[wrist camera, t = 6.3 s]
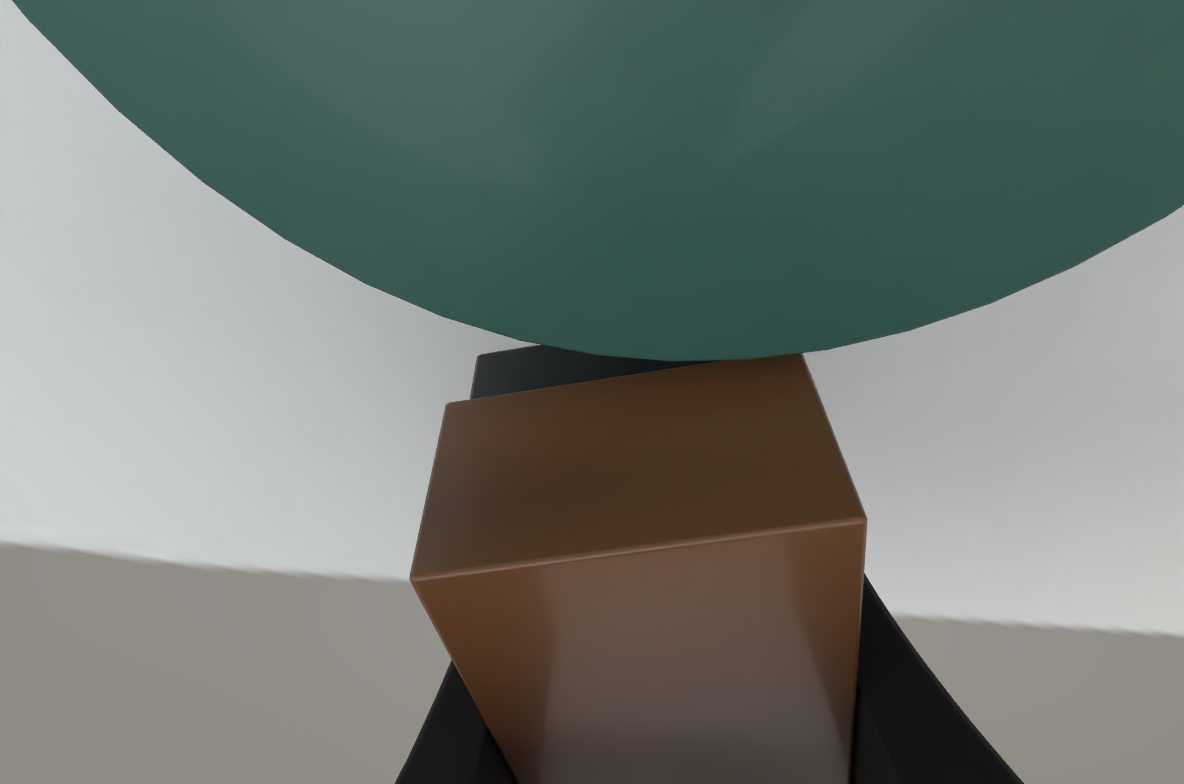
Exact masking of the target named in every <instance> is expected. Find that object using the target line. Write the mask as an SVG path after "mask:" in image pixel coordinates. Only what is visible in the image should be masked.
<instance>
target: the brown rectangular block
mask: <svg viewBox="0 0 1184 784" xmlns="http://www.w3.org/2000/svg"><path fill="white" fill-rule="evenodd" d="M866 534H867V516H866V514H865V511H864V509H863V506H862V503H861V501H860V498H859V496H858V493H857V491H856V488H855V486H854V483H853V481H852V478H851V475H850V473H849V470H848V468H847V465H846V463H845V460H844V458H843V455H842V452H841V450H840V447H839V445H838V442H837V440H836V437H835V435H834V432H833V430H832V427H831V424H830V422H829V419H828V417H827V414H826V412H825V409H824V407H823V404H822V401H821V399H820V396H819V394H818V391H817V389H816V386H815V384H814V381H813V379H812V376H811V373H810V371H809V368H808V366H807V363H806V361H805V358H804V356H803V353H798V354H790V355H782V356H774V357H766V358H759V359H751V360H713V361H661V360H649V359H637V358H625V357H613V356H601V355H593V354H588V353H583V352H578V351H572V350H567V349H562V348H557V347H552V346H546V345H536V346H530V347H523V348H517V349H511V350H505V351H498V352H492V353H486V354H481V355H479V356H478V357H477V361H476V366H475V372H474V378H473V384H472V389H471V395H470V400H463V401H456V402H450V403H448V404H446V406H445V411H444V416H443V420H442V425H441V430H440V435H439V439H438V444H437V449H436V454H435V458H434V463H433V468H432V473H431V477H430V482H429V487H428V492H427V496H426V501H425V506H424V510H423V515H422V520H421V525H420V529H419V534H418V539H417V544H416V548H415V553H414V558H413V563H412V567H411V572H410V581H411V584H412V585H413V587H414V589H415V591H416V593H417V595H418V597H419V599H420V600H421V602H422V604H423V606H424V608H425V610H426V612H427V614H428V615H429V617H430V619H431V621H432V623H433V625H434V627H435V629H436V631H437V632H438V634H439V636H440V638H441V640H442V642H443V644H444V646H445V647H446V649H447V651H448V653H449V655H450V657H451V659H452V661H453V663H454V664H455V666H456V668H457V670H458V672H459V674H460V676H461V678H462V679H463V681H464V683H465V685H466V687H467V689H468V691H469V693H470V695H471V696H472V698H473V700H474V702H475V704H476V706H477V708H478V710H479V711H480V713H481V715H482V717H483V719H484V721H485V723H486V725H487V726H488V728H489V730H490V732H491V734H492V736H493V738H494V740H495V742H496V743H497V745H498V747H499V749H500V751H501V753H502V755H503V757H504V758H505V760H506V762H507V764H508V766H509V768H510V770H511V772H512V774H513V775H514V777H515V779H516V781H517V783H518V784H851V769H852V754H853V738H854V722H855V706H856V691H857V675H858V659H859V644H860V628H861V612H862V596H863V581H864V565H865V549H866Z"/></svg>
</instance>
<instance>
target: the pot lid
mask: <svg viewBox="0 0 1184 784" xmlns="http://www.w3.org/2000/svg"><path fill="white" fill-rule="evenodd" d="M12 1H13V2H14V3H15V4H16V6H17V7H18V8H19V9H20V10H21V12H22V13H23V14H24V15H25V16H26V18H27V19H28V20H29V21H30V22H31V23H32V24H33V25H34V26H35V27H36V28H37V29H38V30H39V31H40V32H41V33H42V34H43V35H44V36H45V37H46V38H47V39H48V40H49V41H50V42H51V43H52V44H53V45H54V46H55V47H56V48H57V49H58V50H59V51H60V52H61V53H62V54H63V55H64V56H65V57H66V58H67V59H68V60H69V61H70V62H71V63H72V65H73V66H74V67H75V68H76V69H77V70H78V71H79V72H80V73H81V74H82V75H83V76H84V77H85V78H86V79H87V80H88V81H89V82H90V83H91V84H92V85H93V86H94V87H95V88H96V89H97V90H98V91H99V92H100V93H101V94H102V95H103V96H104V97H105V98H106V99H107V100H108V101H109V102H110V103H111V104H112V105H113V106H114V107H115V108H116V109H117V110H118V111H119V112H120V113H122V114H123V115H124V116H125V117H126V118H128V119H129V120H130V121H131V122H132V123H133V124H135V125H136V126H137V127H138V128H139V129H141V130H142V131H143V132H144V133H145V134H146V135H148V136H149V137H150V138H151V139H152V140H154V141H155V142H156V143H157V144H158V145H160V146H161V147H162V148H163V149H164V150H165V151H167V152H168V153H169V154H170V155H171V156H173V157H174V158H175V159H176V160H177V161H178V162H180V163H181V164H182V165H183V166H184V167H186V168H187V169H188V170H189V171H190V172H192V173H193V174H194V175H195V176H196V177H197V178H199V179H200V180H201V181H202V182H203V183H205V184H206V185H208V186H209V187H211V188H212V189H214V190H215V191H216V192H218V193H219V194H221V195H222V196H224V197H225V198H227V199H228V200H229V201H231V202H232V203H234V204H235V205H237V206H238V207H240V208H241V209H242V210H244V211H245V212H247V213H248V214H250V215H251V216H253V217H254V218H255V219H257V220H258V221H260V222H261V223H263V224H264V225H265V226H267V227H268V228H270V229H271V230H273V231H274V232H276V233H277V234H278V235H280V236H281V237H283V238H284V239H286V240H288V241H289V242H291V243H293V244H295V245H297V246H298V247H300V248H302V249H304V250H306V251H307V252H309V253H311V254H313V255H315V256H316V257H318V258H320V259H322V260H324V261H325V262H327V263H329V264H331V265H333V266H334V267H336V268H338V269H340V270H342V271H343V272H345V273H347V274H349V275H351V276H352V277H354V278H356V279H358V280H360V281H361V282H363V283H365V284H367V285H370V286H372V287H374V288H377V289H379V290H381V291H384V292H386V293H388V294H391V295H393V296H396V297H398V298H400V299H403V300H405V301H407V302H410V303H412V304H414V305H417V306H419V307H421V308H424V309H426V310H428V311H431V312H433V313H435V314H438V315H440V316H442V317H445V318H449V319H452V320H455V321H458V322H462V323H465V324H468V325H471V326H475V327H478V328H481V329H484V330H488V331H491V332H494V333H497V334H501V335H504V336H507V337H511V338H514V339H517V340H520V341H526V342H531V343H536V344H541V345H546V346H552V347H557V348H562V349H567V350H572V351H578V352H583V353H588V354H593V355H601V356H613V357H625V358H637V359H649V360H661V361H713V360H751V359H759V358H766V357H774V356H782V355H790V354H798V353H805V352H813V351H821V350H828V349H833V348H837V347H841V346H846V345H850V344H854V343H859V342H863V341H867V340H872V339H876V338H880V337H885V336H889V335H893V334H898V333H902V332H906V331H910V330H913V329H916V328H919V327H922V326H925V325H928V324H931V323H934V322H937V321H940V320H943V319H946V318H949V317H952V316H955V315H958V314H961V313H963V312H966V311H969V310H972V309H975V308H978V307H981V306H984V305H987V304H990V303H993V302H995V301H997V300H999V299H1002V298H1004V297H1006V296H1009V295H1011V294H1013V293H1015V292H1018V291H1020V290H1022V289H1024V288H1027V287H1029V286H1031V285H1034V284H1036V283H1038V282H1040V281H1043V280H1045V279H1047V278H1050V277H1052V276H1054V275H1056V274H1059V273H1061V272H1063V271H1066V270H1068V269H1070V268H1072V267H1075V266H1077V265H1078V264H1080V263H1082V262H1084V261H1086V260H1088V259H1089V258H1091V257H1093V256H1095V255H1097V254H1099V253H1101V252H1102V251H1104V250H1106V249H1108V248H1110V247H1112V246H1113V245H1115V244H1117V243H1119V242H1121V241H1123V240H1124V239H1126V238H1128V237H1130V236H1132V235H1134V234H1135V233H1137V232H1139V231H1141V230H1143V229H1145V228H1146V227H1148V226H1150V225H1152V224H1154V223H1156V222H1157V221H1159V220H1161V219H1163V218H1165V217H1166V216H1168V215H1169V214H1171V213H1172V212H1174V211H1175V210H1177V209H1179V208H1180V207H1182V206H1183V205H1184V0H12Z"/></svg>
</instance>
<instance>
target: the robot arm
mask: <svg viewBox="0 0 1184 784" xmlns="http://www.w3.org/2000/svg"><path fill="white" fill-rule="evenodd" d="M395 784H518V783H517V781H516V779H515V777H514V775H513V774H512V772H511V770H510V768H509V766H508V764H507V762H506V760H505V758H504V757H503V755H502V753H501V751H500V749H499V747H498V745H497V743H496V742H495V740H494V738H493V736H492V734H491V732H490V730H489V728H488V726H487V725H486V723H485V721H484V719H483V717H482V715H481V713H480V711H479V710H478V708H477V706H476V704H475V702H474V700H473V698H472V696H471V695H470V693H469V691H468V689H467V687H466V685H465V683H464V681H463V679H462V678H461V676H460V674H459V672H458V670H457V668H456V666H455V664H454V663H453V661H452V660H451V663H450V665H449V668H448V670H447V672H446V675H445V677H444V679H443V682H442V684H441V686H440V689H439V691H438V694H437V696H436V698H435V700H434V702H433V705H432V707H431V709H430V711H429V713H428V716H427V718H426V720H425V722H424V724H423V727H422V729H421V731H420V733H419V735H418V738H417V740H416V742H415V744H414V746H413V748H412V750H411V752H410V755H409V757H408V759H407V761H406V763H405V765H404V767H403V768H402V770H401V772H400V774H399V776H398V778H397V780H396V782H395ZM851 784H1024V783H1023V782H1022V781H1021V779H1020V778H1019V777H1018V776H1017V775H1016V774H1015V773H1014V772H1013V770H1012V769H1011V768H1010V767H1009V766H1008V765H1007V764H1006V762H1005V761H1004V760H1003V759H1002V758H1001V757H1000V755H999V754H998V753H997V752H996V751H995V750H994V748H993V747H992V746H991V745H990V743H989V742H988V741H987V740H986V739H985V738H984V736H983V735H982V734H981V733H980V732H979V731H978V729H977V728H976V727H975V726H974V725H973V723H972V722H971V721H970V720H969V718H968V717H967V716H966V715H965V713H964V712H963V711H962V710H961V709H960V707H959V706H958V705H957V703H956V702H955V701H954V700H953V698H952V697H951V696H950V695H949V693H948V692H947V691H946V689H945V688H944V687H943V685H942V684H941V683H940V682H939V681H938V679H937V678H936V676H935V675H934V674H933V673H932V671H931V670H930V668H929V667H928V666H927V665H926V663H925V662H924V661H923V659H922V658H921V657H920V655H919V654H918V653H917V652H916V650H915V649H914V647H913V646H912V644H911V643H910V641H909V640H908V639H907V637H906V636H905V634H904V633H903V631H902V630H901V629H900V627H899V626H898V624H897V623H896V621H895V620H894V618H893V617H892V616H891V614H890V613H889V611H888V610H887V608H886V607H885V605H884V604H883V602H882V601H881V599H880V598H879V596H878V594H877V593H876V591H875V590H874V588H873V586H872V585H871V583H870V582H869V580H868V578H867V577H866V575H865V573H864V581H863V596H862V612H861V628H860V644H859V659H858V675H857V691H856V706H855V722H854V738H853V754H852V769H851Z"/></svg>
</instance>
